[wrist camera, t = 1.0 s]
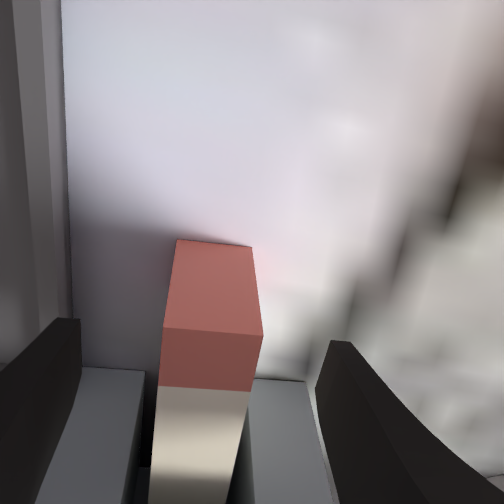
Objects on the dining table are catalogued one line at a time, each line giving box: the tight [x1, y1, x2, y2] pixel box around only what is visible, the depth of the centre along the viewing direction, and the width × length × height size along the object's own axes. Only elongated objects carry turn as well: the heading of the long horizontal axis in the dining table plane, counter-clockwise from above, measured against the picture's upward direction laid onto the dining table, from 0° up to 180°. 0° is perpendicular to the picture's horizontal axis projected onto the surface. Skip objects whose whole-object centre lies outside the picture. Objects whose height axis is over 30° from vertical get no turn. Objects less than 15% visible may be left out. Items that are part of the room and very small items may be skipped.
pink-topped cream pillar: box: [148, 239, 263, 504], centre depth 16 cm, size 10×2×4 cm, turn 171°
